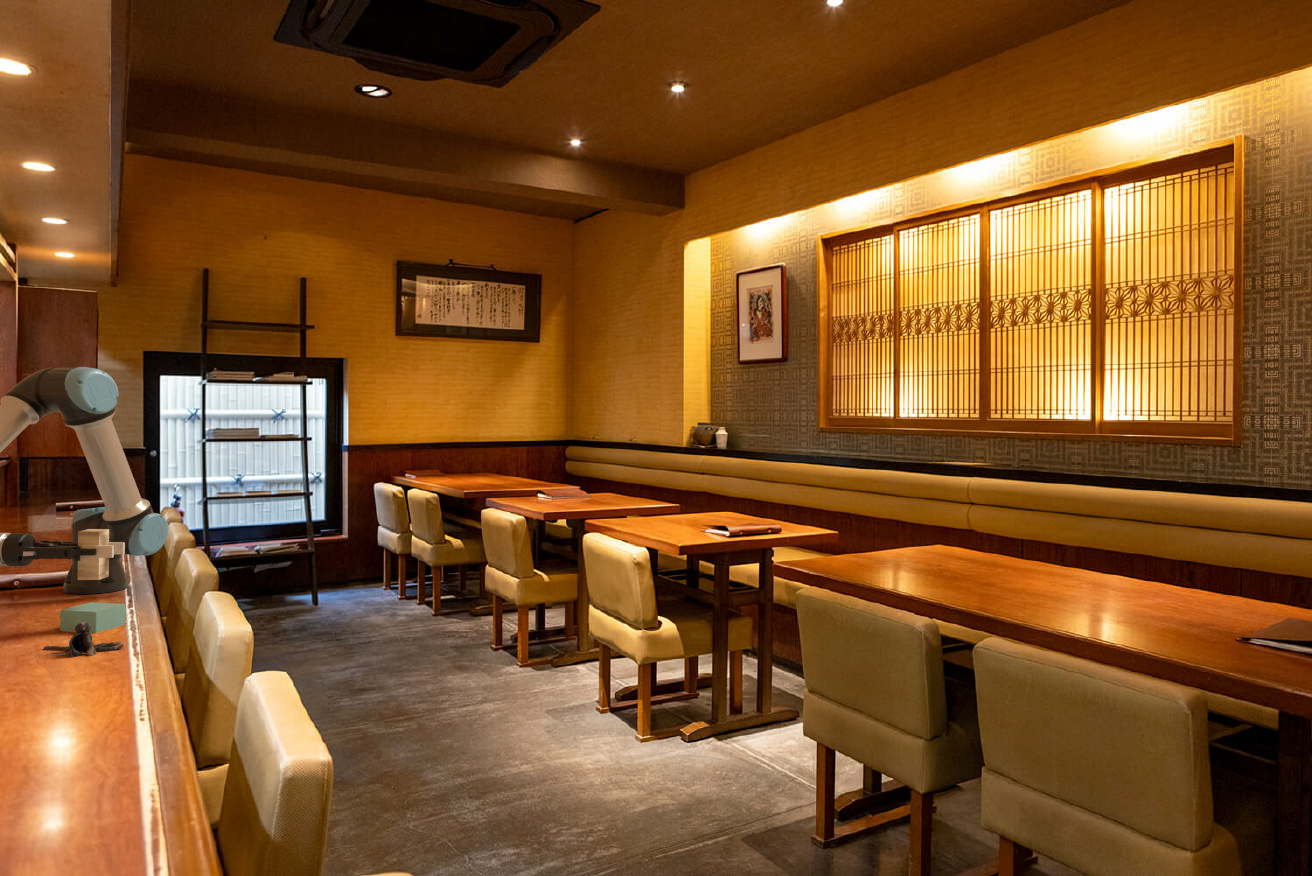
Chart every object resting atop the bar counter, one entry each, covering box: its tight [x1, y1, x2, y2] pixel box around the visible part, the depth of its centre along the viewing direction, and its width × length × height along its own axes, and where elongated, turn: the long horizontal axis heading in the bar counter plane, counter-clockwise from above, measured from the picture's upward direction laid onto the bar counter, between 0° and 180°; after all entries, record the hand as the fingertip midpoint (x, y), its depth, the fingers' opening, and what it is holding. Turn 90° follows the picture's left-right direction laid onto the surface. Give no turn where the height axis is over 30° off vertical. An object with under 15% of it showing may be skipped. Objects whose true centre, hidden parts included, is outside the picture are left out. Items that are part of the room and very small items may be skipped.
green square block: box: [59, 601, 127, 634], centre depth 203 cm, size 9×9×5 cm
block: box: [78, 529, 109, 580], centre depth 203 cm, size 4×4×11 cm
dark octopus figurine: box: [43, 622, 125, 658], centre depth 183 cm, size 12×10×12 cm
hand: (118, 550), depth 203 cm, fingers closed on block, 4 cm apart
